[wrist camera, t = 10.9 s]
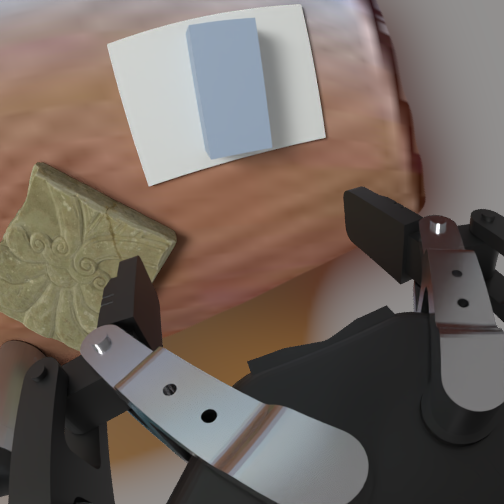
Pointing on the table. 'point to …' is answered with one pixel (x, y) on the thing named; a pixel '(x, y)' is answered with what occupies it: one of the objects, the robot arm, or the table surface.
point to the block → (229, 86)
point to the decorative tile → (71, 254)
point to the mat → (184, 98)
